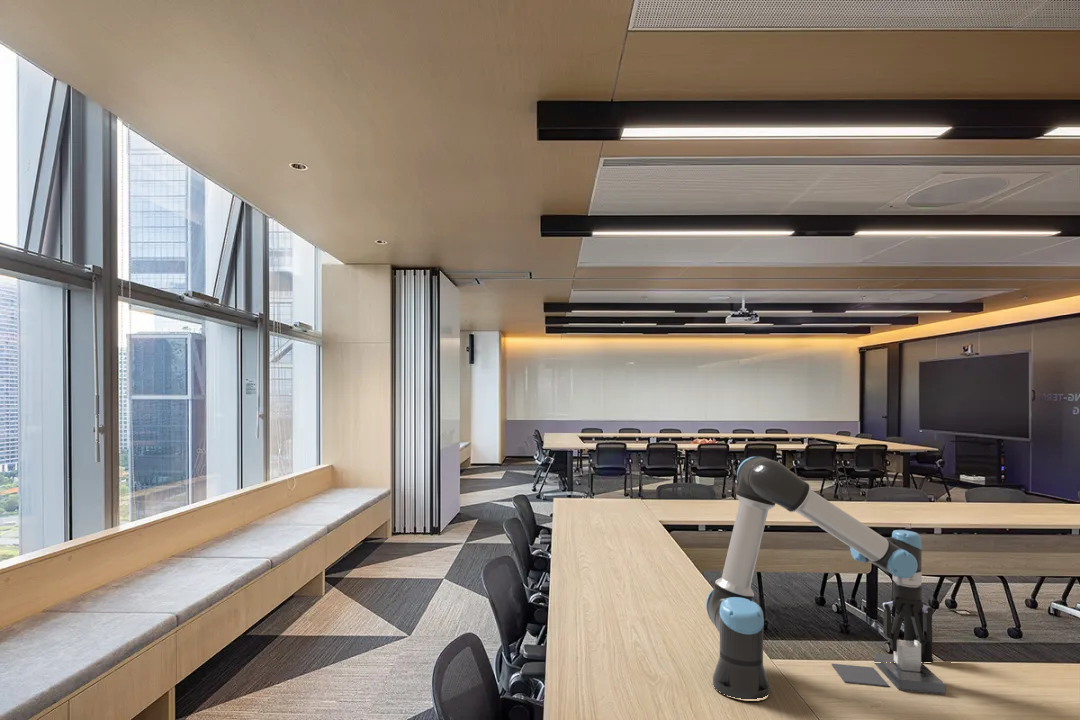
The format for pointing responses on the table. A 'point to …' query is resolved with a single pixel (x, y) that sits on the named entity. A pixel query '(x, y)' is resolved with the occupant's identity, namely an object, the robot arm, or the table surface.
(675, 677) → the table surface
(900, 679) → the square hole plate
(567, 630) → the table surface
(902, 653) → the rectangular peg block
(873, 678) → the rubber pad
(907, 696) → the table surface
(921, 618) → the aerosol can
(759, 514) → the robot arm
